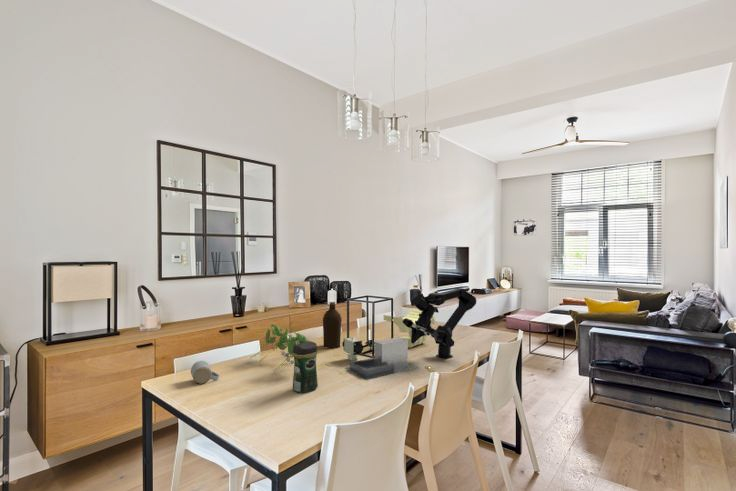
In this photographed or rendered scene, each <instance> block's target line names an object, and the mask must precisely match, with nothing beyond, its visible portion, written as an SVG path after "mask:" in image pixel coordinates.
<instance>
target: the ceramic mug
mask: <svg viewBox="0 0 736 491" xmlns="http://www.w3.org/2000/svg"><path fill="white" fill-rule="evenodd" d="M190 374H191V377H192V380H193V381H194V382H195V383H197V384H199V385H202V384H203V385H204V384H206V383H207V382H209V381H210V380H212V381H218V379H219V377H220V375H219V373H217V372H215V371H213V370H212V368H211V366H210V364H209V363H208V362H207V360H206V361H205V360H198V361H196V362H194V364H193V365H192V366H191V367H190Z"/></svg>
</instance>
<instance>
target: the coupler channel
mask: <svg viewBox="0 0 736 491" xmlns="http://www.w3.org/2000/svg"><path fill="white" fill-rule="evenodd" d="M344 369H345V370H347V371H349V372H351V373H353V374H354V375H356V376H358V377H359V378H361V379H363V381H364V380H365V381H369V380H374V379H377V378H381V377H386V376H390V375H395V374H399V373H403V372H407V371H413V370H417V369H420V367H419V366H416V365H414V364H411V363H409V362H408V365H406V366H401V367H397V368H394V364H388V365H384V366H379V367H374V357H371V358H367V359H362V360H361V359H360V360H357V361H356V360H354V361H350V362H349V366H348V367H345V368H344Z"/></svg>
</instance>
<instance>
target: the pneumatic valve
mask: <svg viewBox="0 0 736 491" xmlns="http://www.w3.org/2000/svg"><path fill="white" fill-rule="evenodd" d="M341 345H342V347H343V352H345V353H348V354H347V359H348V360H349V361H350V362H355V361H358V355H361V354H362V352H363V351H364V345H363V340H360V339H358V338H355V337H345V338H343V341H342V344H341Z"/></svg>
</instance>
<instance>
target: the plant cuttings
mask: <svg viewBox="0 0 736 491" xmlns="http://www.w3.org/2000/svg"><path fill="white" fill-rule="evenodd" d="M270 327H271V328H270ZM270 327H268V328H267V330H266V334H265V339H264V340H265V343H266V344H265V345H264V346H263V347H262V349H264V348H265V347H266V346H267V345H268V344H272V345H271V349H272V350H271V351H270V353H272V352H273V351H276V350H277V349H278V348H279V350H281V351H280V353H281V356H283V358H284V359H285V360H284V361H283V362H282V363H281V364H279V366H278V368H281V367H282V366H284V365H285V363H289V364H290V365H293V364H294V360H293V359H292V360H291V358H294V357H293V346H294V345H295V344H300V343H304V342H309V341H310V340H309V339H307V337H306V336H305V335H304V334H303V335H302V334H301V333H298V332H296V331H295V329H293V328H291V329H288V328H287V326H285V325H281V328H280V327H279V326H278V325H277V324H272V323H271V325H270ZM290 330H291V331H290ZM271 331H272V335H273V336H271ZM282 331H283V332H282ZM291 332H293V333H291ZM292 334H294V335H295V336H292ZM276 336H278V337H279V339H278V340H277V341H276ZM287 336H288V337H287ZM274 343H275V344H274ZM273 345H274V347H273ZM285 349H287V353H285ZM259 353H260V351H258V352H257V353H256V354H255V355H253V356H250V357H249V358H250V359H251V358H253V357H256V356H257V355H259ZM266 357H267V355H265V356H264V357H263V358H261V360H260V362H262V361H263V360H264V359H265V358H266ZM276 371H277V368H275V369H274V370H273V372H276Z"/></svg>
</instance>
